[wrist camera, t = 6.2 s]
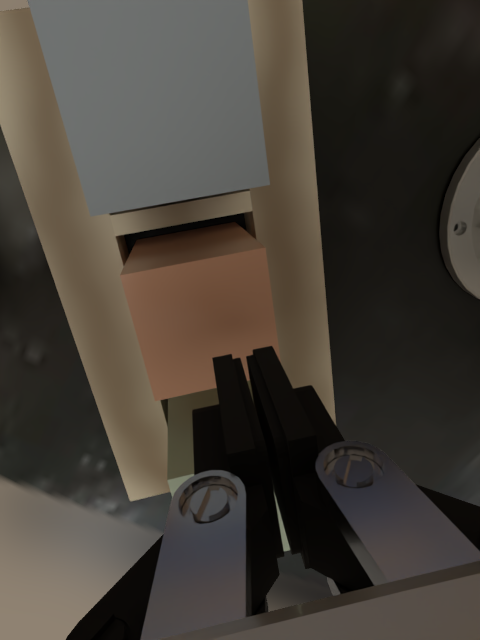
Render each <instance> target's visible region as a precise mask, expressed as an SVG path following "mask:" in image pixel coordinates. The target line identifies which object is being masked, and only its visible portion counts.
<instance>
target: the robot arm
mask: <svg viewBox="0 0 480 640" xmlns="http://www.w3.org/2000/svg"><path fill="white" fill-rule="evenodd" d="M439 237H440V246H441V253H442V256H443V259H444V262H445V265H446V268H447V269H448V271H449V273H450V275H451V276H452V278H453V280H454V281H455V282H456V283H457V284H458V285H459V286H460V287H461V288H462V289H463V290H464V291H465V292H467V293H469V294H470V295H472V296H474V297H475V298H477V299H480V138H479V139H478V140H477V142H476V143H475V144H474V145H473V146H472V148H471V149H470V150H469V151H468V153H467V154H466V155H465V156H464V158H463V160H462V161H461V163H460V165H459V166H458V168H457V170H456V171H455V173H454V175H453V177H452V180H451V182H450V185H449V187H448V189H447V192H446V194H445V198H444V202H443V206H442V210H441V215H440V229H439ZM212 360H213V366H214V373H215V380H216V386H217V393H218V400H219V404H217V405H212V406H207V407H203V408H198V409H193V410H192V425H193V453H194V476H192V477H190V478H189V479H187V480H186V481H185V482H184V483H182V484H181V485H180V486H179V488H178V489H177V490H176V491H175V493H174V495H173V498H172V500H171V503H170V508H169V512H168V517H167V521H166V526H165V530H164V534H163V535H162V536H161V537H160V538H159V539H158V540H157V541H156V543H155V544H154V545H153V546H152V547H151V548H150V549H149V550H148V551H147V552H146V553H145V554H144V555H143V556H142V557H141V558H140V559H139V560H138V561H137V562H136V563H135V564H134V566H133V567H132V568H130V570H129V571H128V572H127V573H126V574H125V575H124V576H123V577H122V578H121V579H120V580H119V581H118V582H117V583H116V584H115V585H114V586H113V587H112V588H111V589H110V590H109V591H108V592H107V594H106V595H104V597H103V598H102V599H101V600H100V601H99V602H98V603H97V604H96V605H95V606H94V607H93V608H92V609H91V610H90V611H89V612H88V613H87V614H86V615H85V616H84V617H83V618H82V620H80V621H79V622H78V624H77V625H76V626H75V628H74V629H73V630H72V631H71V633H70V634H69V635H68V636H67V638H66V640H480V507H479V506H476V505H473V504H470V503H468V502H465V501H462V500H459V499H456V498H453V497H450V496H447V495H445V494H442V493H439V492H436V491H433V490H430V489H427V488H424V487H422V486H419V485H416V484H414V483H413V482H412V480H411V479H410V478H409V477H408V476H407V475H406V474H405V473H404V472H403V471H402V470H401V469H400V468H399V467H398V466H397V465H396V464H395V463H394V462H393V461H392V460H391V459H390V458H389V457H388V456H387V455H386V454H385V453H384V452H383V451H381V450H380V449H379V448H378V447H375V446H373V445H371V444H368V443H365V442H360V441H345V440H344V439H343V437H342V435H341V434H340V432H339V430H338V428H337V427H336V425H335V423H334V422H333V420H332V418H331V416H330V415H329V413H328V411H327V410H326V408H325V406H324V405H323V403H322V401H321V399H320V398H319V396H318V394H317V393H316V391H315V389H314V388H313V386H312V385H308V386H303V387H298V388H294V389H293V387H292V385H291V383H290V381H289V379H288V377H287V375H286V373H285V371H284V369H283V367H282V365H281V362H280V360H279V358H278V356H277V354H276V352H275V350H274V348H273V346H268V347H263V348H258V349H253V355H249V356H246V360H247V366H248V372H249V378H250V384H251V390H252V395H253V399H252V396H251V392H250V389H249V385H248V382H247V379H246V375H245V372H244V369H243V365H242V362H241V358H235V359H233V358H232V354H228V355H223V356H218V357H213V358H212ZM253 401H254V402H253ZM274 493H275V495H274ZM275 497H276V500H277V504H278V507H279V511H280V514H281V518H282V522H283V525H284V529H285V532H286V536H287V540H288V543H289V547H290V550H291V553H292V555H293V554H297V553H301V556H302V559H303V563H304V566H305V569H308V568H312V569H314V570H316V571H318V572H320V573H321V574H323V575H325V576H327V579H328V583H329V586H330V589H331V592H332V594H333V596H331V597H327V598H323V599H319V600H315V601H311V602H307V603H303V604H299V605H295V606H291V607H287V608H282V609H278V610H274V611H270V612H268V603H267V598H266V595H267V593H268V592H269V590H270V588H271V587H272V585H273V584H274V582H275V581H276V579H277V578H278V576H279V569H278V563H277V558H280V557H284V550H283V544H282V538H281V532H280V526H279V519H278V513H277V507H276V501H275Z"/></svg>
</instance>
